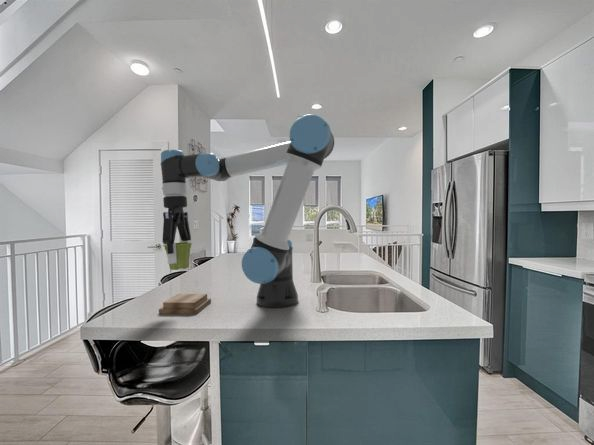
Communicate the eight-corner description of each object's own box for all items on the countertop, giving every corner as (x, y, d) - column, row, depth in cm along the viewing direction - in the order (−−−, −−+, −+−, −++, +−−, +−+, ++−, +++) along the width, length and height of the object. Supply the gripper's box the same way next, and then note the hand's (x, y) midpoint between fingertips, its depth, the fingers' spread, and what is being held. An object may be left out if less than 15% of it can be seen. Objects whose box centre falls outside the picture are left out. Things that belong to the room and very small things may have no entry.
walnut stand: (211, 302, 117) (210, 293, 116) (196, 314, 104) (196, 303, 104) (177, 302, 118) (176, 293, 118) (158, 313, 105) (158, 303, 105)
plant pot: (184, 270, 104) (183, 244, 104) (158, 271, 106) (157, 245, 105) (198, 265, 113) (197, 241, 113) (174, 266, 115) (173, 242, 115)
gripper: (178, 198, 120) (182, 257, 120) (147, 194, 98) (151, 266, 98) (197, 197, 119) (201, 256, 120) (170, 193, 97) (175, 265, 98)
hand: (179, 261), depth 109 cm, fingers closed on plant pot, 9 cm apart
